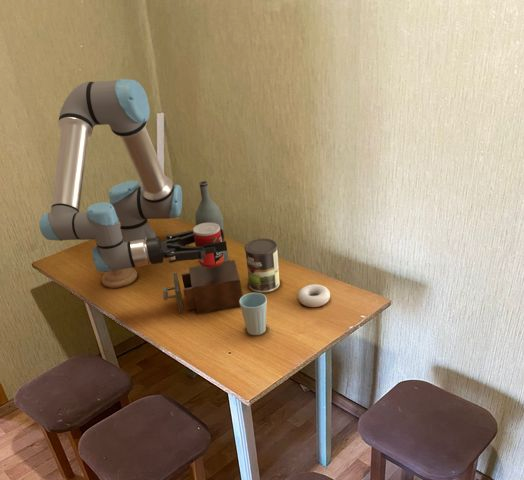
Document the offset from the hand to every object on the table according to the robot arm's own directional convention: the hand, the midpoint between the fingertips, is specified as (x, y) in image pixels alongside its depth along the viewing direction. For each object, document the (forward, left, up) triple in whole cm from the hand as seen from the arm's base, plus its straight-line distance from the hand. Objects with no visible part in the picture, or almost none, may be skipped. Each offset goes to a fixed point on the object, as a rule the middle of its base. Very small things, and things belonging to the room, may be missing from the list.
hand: (224, 239), depth 157 cm
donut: (+10, +24, -20) cm, 33 cm away
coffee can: (-4, +11, -20) cm, 24 cm away
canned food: (0, -5, -7) cm, 8 cm away
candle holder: (-24, -37, -20) cm, 48 cm away
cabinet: (0, -5, -20) cm, 21 cm away
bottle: (-22, -3, -20) cm, 30 cm away
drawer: (0, -13, -19) cm, 23 cm away
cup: (+20, +4, -20) cm, 29 cm away
